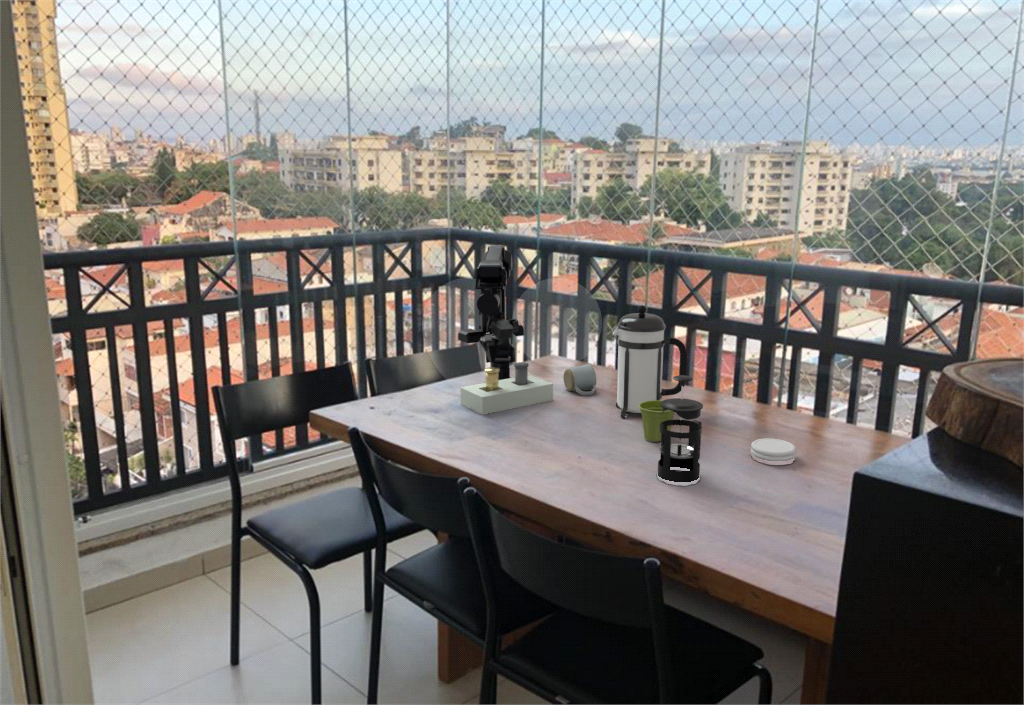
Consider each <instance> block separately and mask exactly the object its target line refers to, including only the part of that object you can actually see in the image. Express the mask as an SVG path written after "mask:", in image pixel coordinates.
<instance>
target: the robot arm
mask: <svg viewBox="0 0 1024 705" xmlns="http://www.w3.org/2000/svg"><path fill="white" fill-rule="evenodd" d="M511 271H513V255H512V253H511V252H510V251H508V250H507V249H506V246H505V245H503V244H499V245H497V244H496V245H495V244H494V245H493V244H491V245H488V246H487V250H486V252H485V253H484V254H483V260H482V261H480V262H479V264H478V266H476V270H475V290H476V291H478V290H479V291H480V295H479V297H478V298H477V300H476V307H477V310H478V315H479V316H480V325H478V329H479V330H476V329H473V328H465V329H460V330H459V332H458V334H457V340H458V341H460V342H462V343H465V344H473V343H474V344H475V343H479V344H480V345H481V347H482V349H483V351H484V353H485V363H486V364H487V363H490V367H496V368H499V372H498V380H503V379H509V378H512V377H511V376H510V375H511V374H510V373H511V367H510V364H512V363H513V362H514V363H516V349H515V347H514V344H513V343H511V340H512V339H511V338H513V336H515V337H520V336H524V335H525V327H524V326H523V325H522V324H519V320H518V319H517V318H512V319H506V317H507V316H506V309H507V308H506V306H507V305H506V286H507V281H508V280H509V278H510V276H511ZM514 363H513V364H514Z"/></svg>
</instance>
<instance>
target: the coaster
mask: <svg viewBox="0 0 1024 705" xmlns="http://www.w3.org/2000/svg"><path fill="white" fill-rule="evenodd" d="M796 452H797V448H796V446H795V445H794V444H793V443H791V442H789V441H787V440H783V439H779V438H772V437H771V438H766V437H765V438H758V439H756V440H753V441H752V442H751V444H750V453H752V455H753V456H755V457H756V458H759V459H762V460H767V461H788V460H791V459H793V458H795V459H796V455H797V453H796Z"/></svg>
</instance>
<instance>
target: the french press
mask: <svg viewBox="0 0 1024 705" xmlns="http://www.w3.org/2000/svg"><path fill="white" fill-rule="evenodd" d="M672 379H673V380H674V381H676V382H678V381H680V386H682V389H681V391H680V392H681V395H680V397H679V398H678V397H677V398H667V399H664V400H661V401H662V402H661V403H660V405H661V407H662V413H663V412H664V411H665V410H671V411H673V412H675V413H674V414H676V415H678V417H679V419H678V418H677V419H674V418H673V420H666V421H663V422H661V423H660V428H659V431H660V433H661V442H660V448H659V450H660V459H659V460H658V461H657V472H658V476H659V477H661V478H662V479H665V480H669V481H674V482H691V481H694V480H697V479H698V478H699V475H700V471H701V469H700V468H701V463H700V462H699V460H700V458H701V456H700V455H701V441H702V438H701V437H702V433H703V432H702V430H703V427H702V421H699V420H696V419H698V418H700V417H701V415H702V414H701V410H702V409H704V404H703V403H702V402H700V401H697V400H695V399H689V398H684V387H685V386H686V385H685V384H686V382H692V381H693V377H691V376H690V375H686V376H685V375H679V374H678V375H675V376H673V377H672ZM683 386H684V387H683ZM667 426H671V427H672V426H679V431H672V430H671V431H669V430H667ZM682 426H685V427H688V432H682ZM672 438H673V439H678V443H672ZM682 439H683V440H685V439H688V441H687V442H688V443H687V444H685V443H681V441H682ZM670 467H680V468H687V469H690V471H675V470H670Z"/></svg>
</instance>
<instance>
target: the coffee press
mask: <svg viewBox="0 0 1024 705" xmlns="http://www.w3.org/2000/svg"><path fill="white" fill-rule="evenodd" d="M637 311H638V312H637V313H635V312H634V313H628V314H625V315H623V316H622V317H621V318H620V319H619V322H618V323H617V326H616V327H615V329H614V330H613V332H612V336H618V337H617V345H618V348H617V349H618V351H617V353H618V355H617V356H618V357H617V384H616V385H617V386H616V387H617V388H616V389H617V390H616V391H617V392H616V393H617V395H616V396H617V397H616V398H617V399H616V403H615V407H616V408H617V409H621V413H620V418H622V419H625V418H626V419H627V418H628V417H629V415H630V414H632V413H635V414H637V413H638V414H642V413H641V411H640V408H639V404H640V403H642V402H645V401H653V400H658V401H662V398H663V397H665V396H673V395H677V394H678V393H680V392H681V389H682V386H680V381H677V384H676V385H675V386H674V387H672V388H665V389H664V388H663V387H662V386H663V385H662V384H663V368H664V367H663V365H664V363H663V362H664V346H665V345H673V346H676V347H677V348H678V350H679V365H678V366H679V370H678V375H685V376H687V368H688V367H687V366H688V365H687V364H688V363H687V362H688V358H687V357H688V354H687V348H686V346H685V344H684V342H682V340H680V339H679V338H676V337H666V338H665V330H666V328H667V327H666V326H667V325H666V324H665V323H664V319H663V318H662V317H660V316H658V315H657V314H653V313H647V312H646V311H647V308H646V306H645V305H643V304H641V305H639V306H638V308H637ZM684 387H685V386H683V388H684Z"/></svg>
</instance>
